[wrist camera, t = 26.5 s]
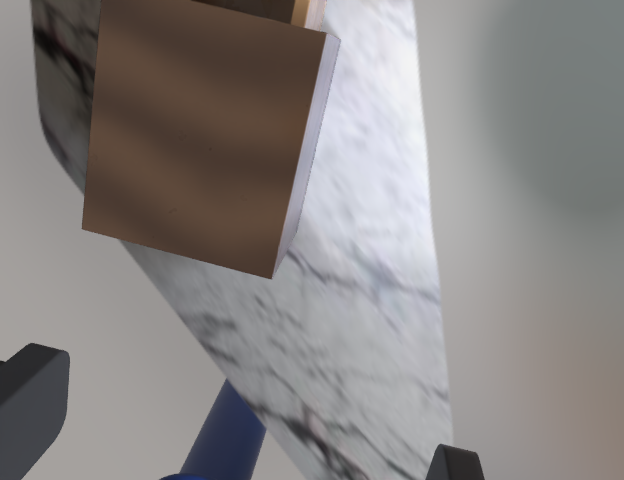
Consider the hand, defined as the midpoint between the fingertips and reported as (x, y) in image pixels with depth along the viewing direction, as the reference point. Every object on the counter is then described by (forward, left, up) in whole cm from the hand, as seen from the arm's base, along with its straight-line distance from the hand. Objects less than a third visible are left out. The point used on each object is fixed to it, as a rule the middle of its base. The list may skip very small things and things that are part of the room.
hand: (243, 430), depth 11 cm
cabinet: (+2, +8, -28) cm, 29 cm away
